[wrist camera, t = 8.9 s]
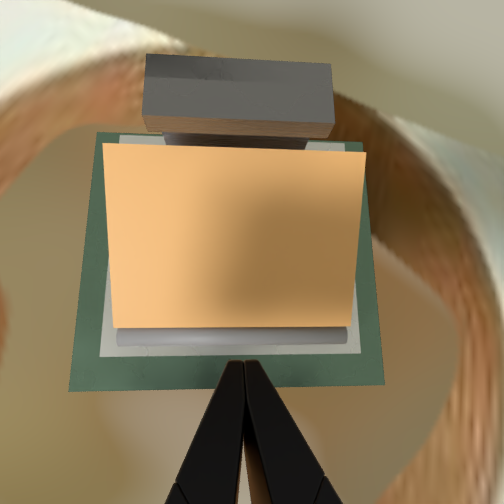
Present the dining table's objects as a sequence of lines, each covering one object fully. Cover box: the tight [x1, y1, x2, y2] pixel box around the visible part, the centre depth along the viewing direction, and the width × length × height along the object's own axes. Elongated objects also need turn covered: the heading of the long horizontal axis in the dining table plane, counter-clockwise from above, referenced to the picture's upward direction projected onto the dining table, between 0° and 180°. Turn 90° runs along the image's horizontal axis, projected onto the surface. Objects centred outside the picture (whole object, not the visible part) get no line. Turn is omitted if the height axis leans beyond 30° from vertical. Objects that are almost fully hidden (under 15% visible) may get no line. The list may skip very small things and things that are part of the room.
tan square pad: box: [102, 143, 366, 347], centre depth 16 cm, size 1×11×9 cm
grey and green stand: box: [69, 54, 385, 392], centre depth 17 cm, size 16×18×11 cm
